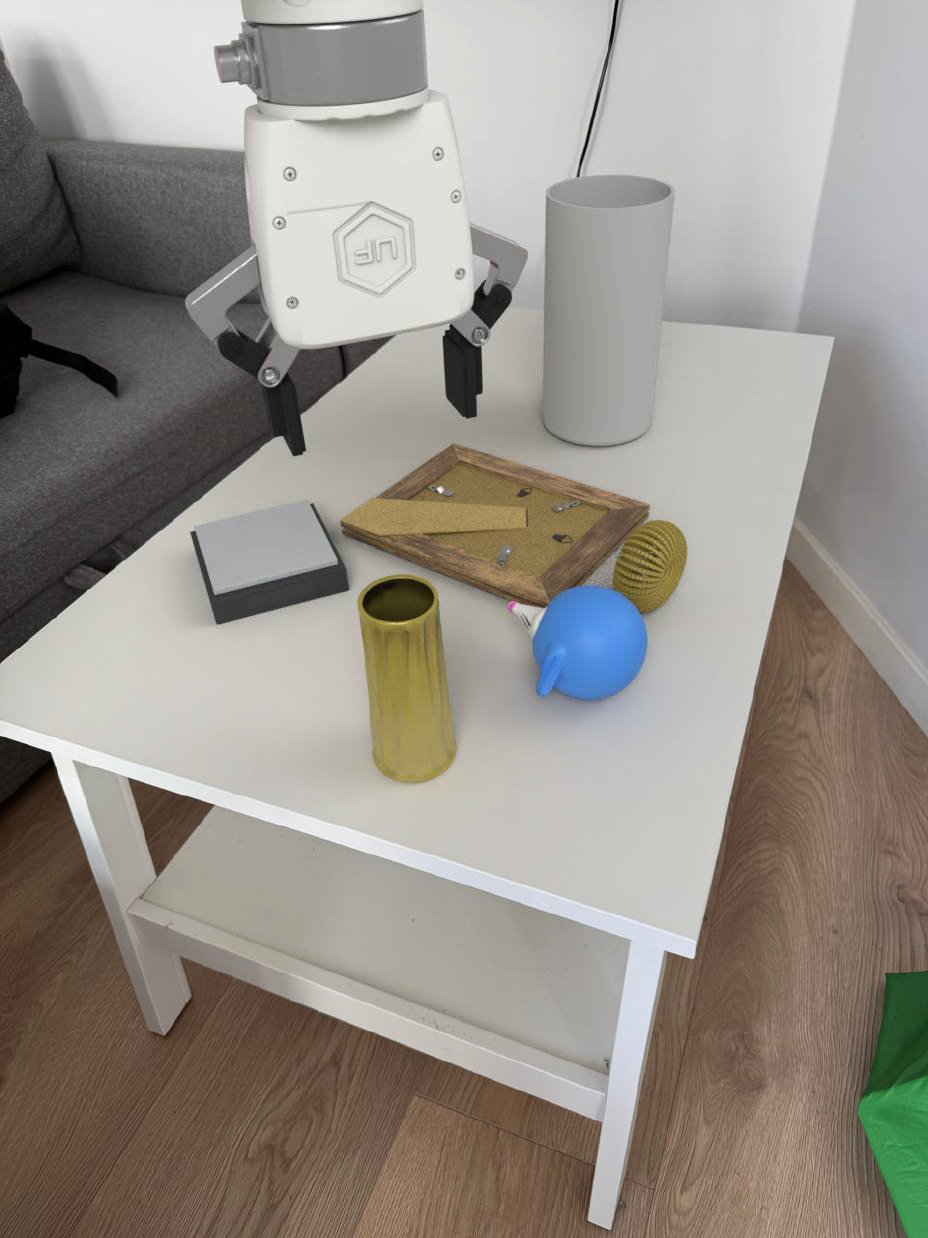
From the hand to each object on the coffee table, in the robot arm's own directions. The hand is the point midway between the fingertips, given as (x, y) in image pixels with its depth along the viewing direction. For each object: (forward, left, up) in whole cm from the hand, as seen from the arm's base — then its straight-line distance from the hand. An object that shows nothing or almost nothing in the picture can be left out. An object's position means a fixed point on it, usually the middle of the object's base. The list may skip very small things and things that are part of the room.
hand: (379, 425), depth 50 cm
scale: (-5, +27, -26) cm, 38 cm away
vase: (0, 0, -26) cm, 26 cm away
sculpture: (+24, +8, -26) cm, 37 cm away
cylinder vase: (+36, +40, -26) cm, 60 cm away
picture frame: (+17, +25, -26) cm, 40 cm away
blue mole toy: (+14, +3, -26) cm, 30 cm away
